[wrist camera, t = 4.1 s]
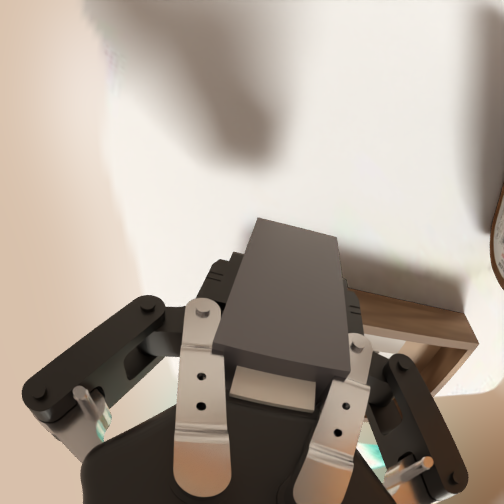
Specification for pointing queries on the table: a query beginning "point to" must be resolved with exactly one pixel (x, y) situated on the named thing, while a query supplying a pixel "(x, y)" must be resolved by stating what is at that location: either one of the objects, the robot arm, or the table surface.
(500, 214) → the tin
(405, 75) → the table surface
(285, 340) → the connector
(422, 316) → the box
